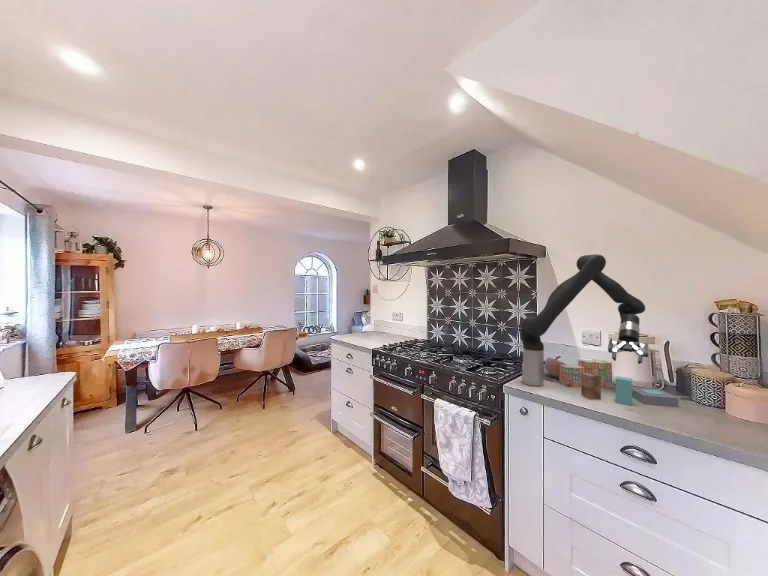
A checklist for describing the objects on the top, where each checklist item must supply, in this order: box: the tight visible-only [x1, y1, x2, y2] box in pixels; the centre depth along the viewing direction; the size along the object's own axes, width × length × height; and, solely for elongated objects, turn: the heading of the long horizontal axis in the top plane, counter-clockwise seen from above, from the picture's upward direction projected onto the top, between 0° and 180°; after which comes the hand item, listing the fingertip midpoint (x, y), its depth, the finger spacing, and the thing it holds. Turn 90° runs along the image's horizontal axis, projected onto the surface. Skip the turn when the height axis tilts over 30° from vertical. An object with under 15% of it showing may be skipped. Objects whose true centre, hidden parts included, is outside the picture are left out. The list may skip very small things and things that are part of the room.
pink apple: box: [544, 355, 568, 378], centre depth 161 cm, size 12×12×12 cm
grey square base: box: [632, 386, 679, 408], centre depth 127 cm, size 12×12×4 cm
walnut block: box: [580, 373, 602, 400], centre depth 130 cm, size 5×5×10 cm
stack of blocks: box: [559, 358, 613, 389], centre depth 147 cm, size 21×6×12 cm, turn 85°
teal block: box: [615, 375, 633, 406], centre depth 124 cm, size 5×5×10 cm
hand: (626, 361), depth 133 cm, fingers open, 8 cm apart
